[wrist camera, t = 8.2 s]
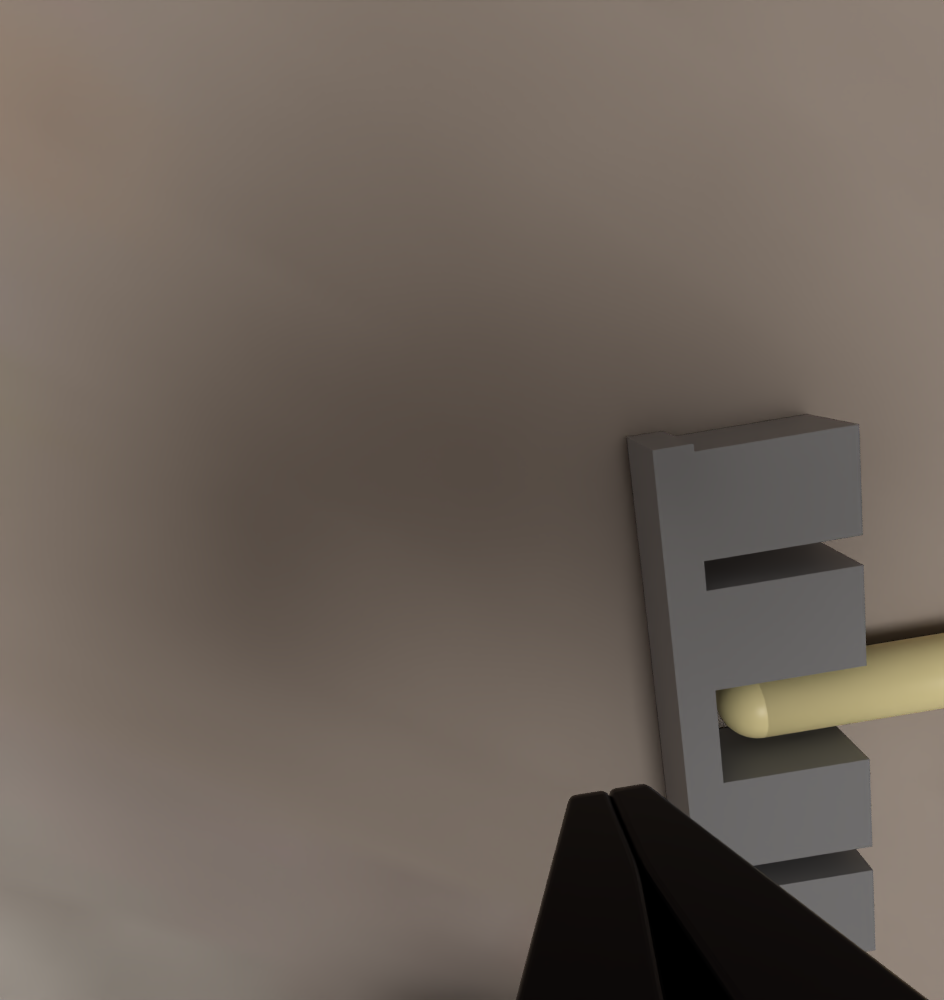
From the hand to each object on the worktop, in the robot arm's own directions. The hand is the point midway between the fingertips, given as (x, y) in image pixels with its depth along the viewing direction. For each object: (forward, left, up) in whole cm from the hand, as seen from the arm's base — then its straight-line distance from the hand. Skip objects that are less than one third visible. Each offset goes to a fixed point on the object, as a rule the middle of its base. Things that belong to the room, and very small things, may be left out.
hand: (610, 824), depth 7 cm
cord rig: (-6, -15, -12) cm, 20 cm away
